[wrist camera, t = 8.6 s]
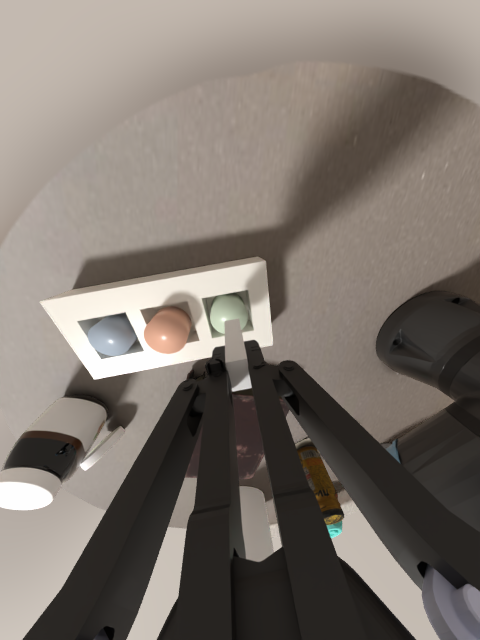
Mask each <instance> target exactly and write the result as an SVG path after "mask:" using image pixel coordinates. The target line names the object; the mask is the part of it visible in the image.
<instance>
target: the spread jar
mask: <svg viewBox="0 0 480 640" xmlns="http://www.w3.org/2000/svg"><path fill="white" fill-rule="evenodd" d="M107 416H108V409H107V407H106V405H105V404H104V403H102V402H101V401H100V400H98V399H96V398H93V397H90V396H84V395H72V396H65V397H62V398H59V399H58V400H57V401H55V402H54V403H53V404H52V405H51V406H50V407H49V408H47V409H46V410H45V411H44V412H43V413H42V414H41V415H40V416H39V417H38V418H37V419H36V420H35V421H34V422H33V423H32V425H31V426H30V427H29V428H28V429H27V430H26V431H25V432H24V433H23V434H22V435H21V437H20V438H19V439H18V440H17V442H16V443H15V445H14V446H13V448H12V449H11V451H10V453H9V454H8V456H7V458H6V460H5V462H4V465H3V467H2V470H1V472H0V507H2V508H6V509H13V510H32V509H38V508H42V507H44V506H47V505H48V504H50V503H51V502H52V500H53V499H54V497H55V496H56V494H57V493H58V491H59V490H60V488H61V485H62V484H64V483H65V482H67V481H68V480H69V479H70V478H71V477H72V476H73V475H74V473H75V472H76V470H77V469H78V468H79V466H81V467H82V468H83V469H84V470H87V469H89V468H90V467H91V466H92V465H93V464H95V463H96V462H97V461H98V460H99V459H100V458H101V457H102V456H103V455H104V454H105V453H106V452H108V451H109V450H110V449H111V448H112V446H113V445H114V444H115V443H116V442H117V441H118V440H119V439H120V438H121V437H122V436H123V434H124V433H125V430H124V429H123V428H122V426H119V427H118V428H116V429H115V430H114V431H113V432H111V433H110V434H109V435H108V436H107V437H106V438H105V439H104V440H102V441H101V442H100V443H99V444H98V445H97V446H96V447H95V448H94V449H93V450H92V451H91V452H90V453H89V454H88V455H87V453H88V451H89V450H90V448H91V446H92V445H93V443H94V442H95V440H96V438H97V437H98V435H99V433H100V431H101V429H102V428H103V426H104V424H105V421H106V419H107ZM86 455H87V456H86ZM85 456H86V457H85Z"/></svg>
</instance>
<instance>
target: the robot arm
mask: <svg viewBox="0 0 480 640" xmlns="http://www.w3.org/2000/svg"><path fill="white" fill-rule="evenodd" d="M224 327H225V346H219V347H215V348H214V350H213V351H212V359H210V360H209V361H208V362H207V363H206V365H205V367H206V370H207V373H208V376H207V377H206V378H204V379H202V380H200V381H198V382H197V381H196V380H195V379H187V380H185V381H183V382H182V383H181V384H180V385H179V386H178V388H177V390H176V391H175V393H174V395H173V397H172V398H171V400H170V402H169V404H168V405H167V407H166V409H165V410H164V412H163V414H162V416H161V417H160V419H159V421H158V423H157V424H156V426H155V428H154V430H153V431H152V433H151V435H150V436H149V438H148V440H147V442H146V443H145V445H144V447H143V449H142V450H141V452H140V454H139V456H138V457H137V459H136V461H135V462H134V464H133V466H132V468H131V469H130V471H129V473H128V475H127V476H126V478H125V480H124V482H123V483H122V485H121V487H120V488H119V490H118V492H117V494H116V495H115V497H114V499H113V501H112V502H111V504H110V506H109V508H108V509H107V511H106V513H105V514H104V516H103V518H102V520H101V521H100V523H99V525H98V527H97V529H96V530H95V532H94V534H93V535H92V537H91V539H90V540H89V542H88V544H87V546H86V547H85V549H84V551H83V553H82V555H81V556H80V558H79V560H78V561H77V563H76V565H75V566H74V568H73V570H72V572H71V573H70V575H69V577H68V579H67V580H66V582H65V584H64V586H63V587H62V589H61V590H60V591H59V593H58V594H57V595H56V597H55V598H54V599H53V601H52V602H51V603H50V604H49V606H48V607H47V609H46V610H45V611H44V612H43V614H42V615H41V616H40V618H39V619H38V620H37V622H36V623H35V624H34V625H33V627H32V628H31V629H30V630H29V632H28V633H27V634H26V636H25V637H24V638H23V640H126V639H127V637H128V634H129V632H130V630H131V627H132V625H133V623H134V621H135V618H136V616H137V614H138V611H139V608H140V605H141V603H142V600H143V597H144V595H145V592H146V589H147V587H148V584H149V581H150V578H151V575H152V572H153V569H154V566H155V563H156V560H157V557H158V554H159V551H160V548H161V545H162V542H163V539H164V537H165V534H166V531H167V528H168V525H169V522H170V519H171V516H172V513H173V510H174V507H175V504H176V501H177V498H178V495H179V492H180V490H181V487H182V484H183V481H184V478H185V475H186V472H187V469H188V466H189V463H190V460H191V457H192V454H193V451H194V448H195V445H196V442H197V440H198V437H199V434H200V431H201V428H202V425H203V428H202V438H201V448H200V457H199V467H198V477H197V487H196V497H195V505H194V510H193V512H192V513H191V515H190V517H189V520H188V524H187V531H186V538H185V547H184V555H183V563H182V571H181V580H180V588H179V596H178V599H177V600H176V602H175V604H174V606H173V607H172V609H171V611H170V613H169V615H168V617H167V619H166V621H165V624H164V626H163V628H162V630H161V632H160V634H159V636H158V638H157V640H416V639H415V638H414V637H413V636H412V635H411V633H410V632H409V631H408V630H407V629H406V628H405V627H404V626H403V625H402V623H401V622H400V621H399V620H398V619H397V618H396V617H395V616H394V614H392V612H391V611H390V610H389V609H388V608H387V606H386V605H385V604H384V603H383V602H382V601H381V600H380V598H379V597H378V596H377V595H376V594H375V593H374V592H373V591H372V589H371V588H370V587H369V586H368V585H367V584H366V583H365V582H364V581H363V579H362V578H361V577H360V576H359V575H358V574H357V573H356V572H355V571H354V569H352V568H351V567H350V566H349V565H348V564H347V563H346V562H345V561H343V560H342V559H341V558H340V557H338V556H337V554H336V551H335V548H334V545H333V543H332V540H331V537H330V534H329V531H328V528H327V526H326V523H325V520H324V517H323V515H322V512H321V509H320V506H319V504H318V501H317V498H316V496H315V494H314V492H313V490H312V489H311V488H310V486H309V484H308V481H307V478H306V475H305V472H304V470H303V467H302V464H301V461H300V458H299V455H298V452H297V449H296V446H295V444H294V441H293V438H292V435H291V432H290V429H289V426H288V423H287V421H286V418H285V415H284V412H283V409H282V406H281V403H280V400H279V397H278V396H281V397H282V399H283V401H284V402H285V403H286V405H287V406H288V408H289V409H290V411H291V412H292V414H293V415H294V416H295V418H296V419H297V421H298V422H299V424H300V425H301V426H302V428H303V429H304V431H305V432H306V434H307V435H308V436H309V438H310V439H311V441H312V442H313V444H314V445H315V447H316V448H317V449H318V451H319V452H320V454H321V455H322V457H323V458H324V459H325V461H326V462H327V464H328V465H329V467H330V468H331V470H332V471H333V472H334V474H335V475H336V477H337V478H338V480H339V481H340V482H341V484H342V485H343V487H344V488H345V490H346V491H347V492H348V494H349V495H350V497H351V498H352V500H353V501H354V503H355V504H356V505H357V507H358V508H359V510H360V511H361V513H362V514H363V515H364V517H365V518H366V520H367V521H368V523H369V524H370V525H371V527H372V528H373V530H374V531H375V533H376V534H377V536H378V537H379V538H380V540H381V541H382V542H383V544H384V545H385V546H386V548H387V549H388V551H389V552H390V553H391V555H392V556H393V557H394V559H395V560H396V561H397V562H398V564H399V565H400V566H401V567H402V568H403V570H404V571H405V572H406V573H407V574H408V576H409V577H410V578H411V579H412V580H413V582H414V583H415V584H416V585H417V586H418V587H419V588H420V589H421V590H422V599H423V604H424V608H425V611H426V614H427V616H428V618H429V621H430V623H431V625H432V627H433V628H434V630H435V632H436V634H437V635H438V637H439V638H440V640H480V304H478V303H476V302H475V301H473V300H471V299H469V298H467V297H465V296H462V295H458V294H454V293H450V292H446V291H434V292H429V293H425V294H422V295H420V296H417V297H415V298H413V299H411V300H410V301H408V302H407V303H405V304H404V305H402V306H401V307H400V308H399V309H397V310H396V311H395V312H394V313H393V314H392V315H391V316H390V317H389V319H388V320H387V321H386V322H385V324H384V325H383V327H382V329H381V330H380V332H379V335H378V338H377V342H376V352H377V355H378V357H379V359H380V360H381V361H382V362H383V363H385V364H386V365H387V366H388V367H390V368H391V369H393V370H394V371H396V372H398V373H401V374H403V375H406V376H408V377H411V378H413V379H415V380H418V381H420V382H423V383H425V384H428V385H430V386H433V387H435V388H437V389H439V390H440V391H442V392H443V393H444V394H446V395H447V396H449V397H450V398H452V399H453V400H454V401H455V402H454V403H452V404H451V405H449V406H448V407H446V408H444V409H443V410H441V411H440V412H438V413H437V414H435V415H434V416H432V417H431V418H429V419H428V420H426V421H425V422H423V423H422V424H420V425H419V426H417V427H416V428H414V429H413V430H411V431H410V432H408V433H407V434H405V435H404V436H402V437H401V438H399V439H395V440H394V441H393V443H392V444H391V445H390V446H389V447H388V448H386V449H385V448H384V447H383V446H382V445H381V444H380V443H379V442H378V441H376V440H375V439H374V438H373V437H372V436H371V435H370V434H369V433H368V432H367V431H366V430H365V429H364V428H363V427H362V426H361V425H360V424H359V423H358V422H357V421H356V420H355V419H354V418H353V417H352V416H351V415H350V414H349V413H348V412H347V411H346V410H345V409H343V408H342V407H341V406H340V405H339V404H338V403H337V402H336V401H335V400H334V399H333V398H332V397H331V396H330V395H329V394H328V393H327V392H326V391H325V390H324V389H323V388H322V387H321V386H320V385H319V384H318V383H317V382H316V381H315V380H314V379H313V378H312V377H310V376H309V375H308V374H307V373H306V372H305V371H304V370H303V369H302V368H301V367H300V366H299V365H298V364H297V363H296V362H294V361H289V360H286V361H283V362H281V363H280V364H279V366H273V365H269V364H267V363H266V362H265V361H264V358H263V355H262V352H261V349H260V347H259V343H258V342H257V341H256V340H250V341H244V340H243V335H242V331H241V326H240V321H239V318H238V319H233V320H227V321H224ZM249 388H252V392H253V397H254V402H255V407H256V413H257V418H258V423H259V428H260V434H261V439H262V444H263V449H264V454H265V460H266V465H267V470H268V475H269V481H270V486H271V491H272V496H273V502H274V507H275V512H276V517H277V523H278V528H279V533H280V538H281V544H282V547H281V548H280V549H279V550H277V551H276V552H274V553H273V554H271V555H270V556H268V557H267V558H266V559H264V560H263V561H260V562H256V561H252V560H248V559H246V552H245V544H244V537H243V530H242V517H241V503H240V489H239V475H238V460H237V446H236V432H235V417H234V403H233V395H232V392H233V391H239V390H244V389H249Z"/></svg>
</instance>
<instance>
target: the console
mask: <svg viewBox="0 0 480 640" xmlns="http://www.w3.org/2000/svg"><path fill="white" fill-rule="evenodd" d="M228 293H236V294H238V295H239V296H240V297H241V298H242V300H243V302H244V305H245V307H246V310H247V313H248V320H247V323H246V325H245V327H244V328H243V329H242V330H241V331H242V335H243V340H244V341H250V340H256V341H257V342H258V343H259V347H260V348H261V347H266V346H271V345H273V338H272V326H271V315H270V303H269V292H268V280H267V269H266V261H265V260H263V259H261V258H260V257H258V256H257V257H252V258H246V259H241V260H235V261H229V262H224V263H218V264H213V265H207V266H201V267H196V268H190V269H185V270H179V271H173V272H168V273H162V274H157V275H151V276H145V277H140V278H134V279H129V280H123V281H117V282H112V283H106V284H101V285H95V286H89V287H84V288H78V289H73V290H70V291H67V292H64V293H61V294H59V295H56V296H53V297H50V298H48V299H45V300H42V301H40V303H41V304H42V306H43V307H44V309H45V310H46V312H47V313H48V314H49V316H50V317H51V319H52V320H53V322H54V323H55V324H56V326H57V327H58V329H59V330H60V331H61V333H62V334H63V336H64V337H65V339H66V340H67V341H68V343H69V344H70V346H71V347H72V349H73V350H74V351H75V353H76V354H77V356H78V357H79V358H80V360H81V361H82V363H83V364H84V366H85V367H86V368H87V370H88V371H89V373H90V374H91V376H92V377H93V378H94V379H100V378H105V377H110V376H115V375H120V374H126V373H131V372H136V371H141V370H147V369H152V368H157V367H162V366H167V365H173V364H178V363H183V362H188V361H193V360H199V359H204V358H209V357H212V351H213V350H214V348H215V347H219V346H225V334H223V333H220V332H218V331H217V330H216V329H215V328H214V327H213V326H212V324H211V321H210V314H211V305H212V301H213V299H214V298H215V297H216V296H217V295H223V294H228ZM167 306H175V307H178V308H181V309H183V310H184V311H185V312H186V313H187V314H188V315H189V317H190V319H191V329H190V332H189V335H188V339H187V342H186V344H185V346H184V347H183V348H182V349H181V350H180V351H178V352H176V353H172V354H163V353H159V352H156V351H155V350H153V349H151V348H150V347H149V346H148V345H147V343H146V341H145V339H144V329H145V327H146V326H147V324H148V323H149V322H150V321H151V319H152V318H153V317H154V316H155V314H156V313H157V312H158V311H159V310H160V309H162V308H164V307H167ZM124 312H126V314H127V317H128V319H129V321H130V323H131V325H132V327H133V329H134V331H135V333H136V335H137V337H138V338H137V340H136V341H135V342H134V343H133V345H132V346H131V347H130V348H129V350H128V351H127V352H126V353H124V354H122V355H119V356H109V355H105V354H102V353H100V352H98V351H97V350H95V349H94V348H93V347H92V346H91V344H90V343H89V340H88V332H89V330H90V328H91V327H93V326H94V325H95V324H97V323H98V322H100V321H101V320H102V319H104V318H105V317H107V316H108V315H114V314H119V313H124Z"/></svg>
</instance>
